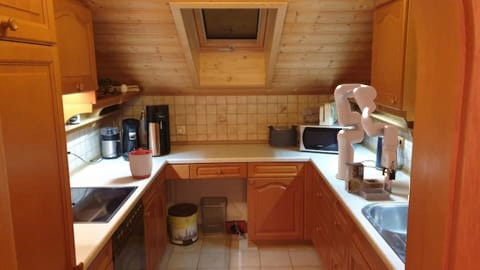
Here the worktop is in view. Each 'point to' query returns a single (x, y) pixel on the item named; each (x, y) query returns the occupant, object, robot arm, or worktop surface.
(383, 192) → the dock cradle
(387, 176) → the lock pin
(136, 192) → the worktop surface
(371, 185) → the mount block
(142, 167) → the citrus juicer
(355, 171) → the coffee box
